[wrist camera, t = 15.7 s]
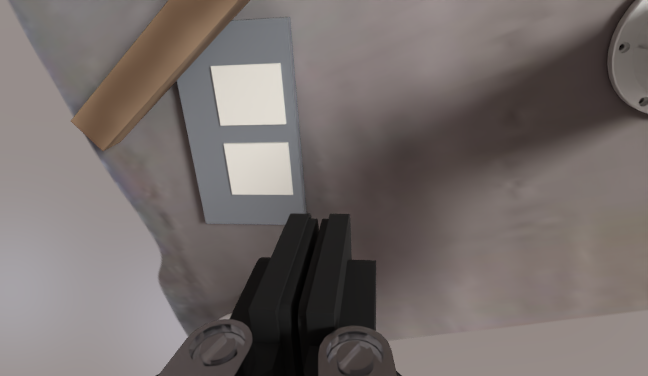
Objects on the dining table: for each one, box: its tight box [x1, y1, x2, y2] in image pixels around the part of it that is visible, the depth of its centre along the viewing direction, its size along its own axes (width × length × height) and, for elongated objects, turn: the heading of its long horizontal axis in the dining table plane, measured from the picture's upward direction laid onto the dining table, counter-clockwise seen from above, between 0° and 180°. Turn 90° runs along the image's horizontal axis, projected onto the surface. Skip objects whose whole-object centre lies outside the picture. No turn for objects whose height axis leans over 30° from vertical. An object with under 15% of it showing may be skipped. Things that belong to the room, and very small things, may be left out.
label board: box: [177, 17, 307, 225], centre depth 42 cm, size 12×22×2 cm, turn 3°
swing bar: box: [71, 0, 250, 151], centre depth 36 cm, size 4×24×3 cm, turn 132°
